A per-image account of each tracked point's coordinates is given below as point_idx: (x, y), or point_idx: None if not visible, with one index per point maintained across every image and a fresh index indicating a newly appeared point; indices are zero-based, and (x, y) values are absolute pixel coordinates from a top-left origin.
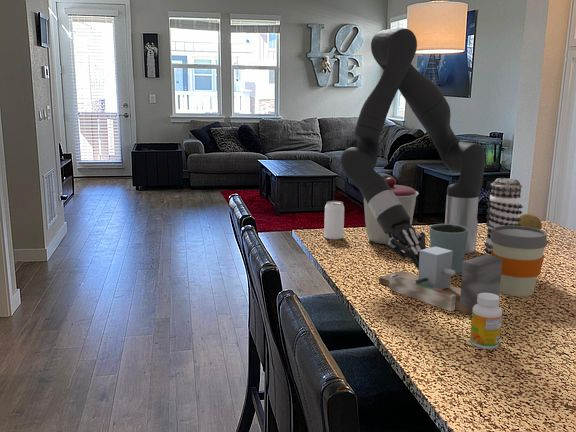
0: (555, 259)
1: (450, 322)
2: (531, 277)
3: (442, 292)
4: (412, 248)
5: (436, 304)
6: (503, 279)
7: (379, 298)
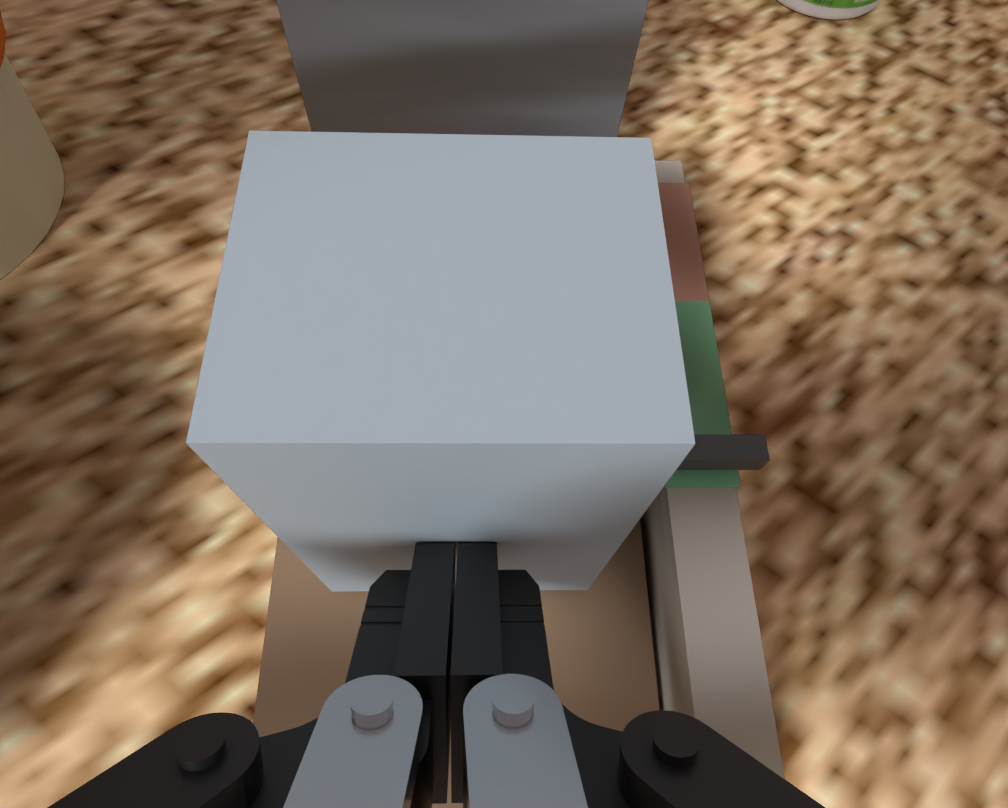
0: None
1: (784, 160)
2: None
3: (692, 225)
4: (552, 791)
5: None
6: (4, 122)
7: (982, 738)
